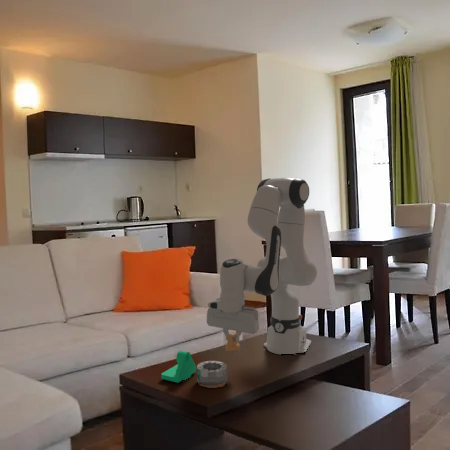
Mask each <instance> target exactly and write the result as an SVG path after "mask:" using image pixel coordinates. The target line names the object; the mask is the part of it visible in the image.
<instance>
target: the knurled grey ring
mask: <svg viewBox="0 0 450 450" xmlns="http://www.w3.org/2000/svg"><path fill="white" fill-rule="evenodd" d="M226 381H227V382H228V365H227V364H226V363H225V362H223V361H219V360H207V361H202V362H199V363H198V364H197V365H196V383H197V382H198V383H199V384H203V385H218V384H222V383H224V382H226Z"/></svg>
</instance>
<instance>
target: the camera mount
mask: <svg viewBox="0 0 450 450" xmlns="http://www.w3.org/2000/svg"><path fill="white" fill-rule="evenodd" d="M175 360H176V362H177V364H175V365H174V366H173V367H170V368H169V369H167V370H165V371H163V372H162V373H161V376H160V377H161V379H162V380H164V381H165V380H166V381H170V382H172V383H173V382H174V383H177V384H179V383H180V382H183V381H182V380H185V381H187V380H189V379H190V378H192V375H193V374H194V373H197V365H196V363H195V361H194V360H193V357H192V355H191V352H189V351H185V350H179V351H178V352H177V354H176V358H175ZM188 378H189V379H188ZM186 379H187V380H186Z"/></svg>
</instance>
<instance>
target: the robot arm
mask: <svg viewBox="0 0 450 450" xmlns="http://www.w3.org/2000/svg"><path fill="white" fill-rule="evenodd" d="M309 197H310V186H309V184H308V183H307V181H306V180H304V179H302V178H299V177H298V178H297V177H296V178H294V177H275V178H265V179H262V180H261V181H260V182H259V183H258V185H257V188H256V192H255V195H254V197H253V200H252V201H251V205H250V207H249V210H248V211H249V212H248V216H247V225H248V227H249V229H250V230H251V232H253V233H254V234H255V235H257V236H258V237H260V238H261V239H262V240H263V241H265V244H266V247H265V248H266V249H265V250H266V252H265V256H263V257H261V258H260V259H259V261H258V262H257V265H252V264H246V263H244V262H243V260H242V259H238V258H231V259H226V260H224V261H223V262H222V263H221V265H220V272H219V287H220V294H219V297H217V298H215V299H213V300H210V301H209V302H208V303H207V307H208V309H207V312H206V324H207V325H208V326H209V327H214V328H218V329H219V328H220V329H222V332H223V333H224V335H225V340H226V341H227V335H229V334H230V331H233V332H236V334H237V333H238V334H237V336H235V337H234V342H238V343H239V342H240V337H241V335H242V334H243V333H247V334H250V335H251V334H253V335H254V334H256V333H257V332H259V330H260V323H259V312H258V310H257V309H256V308H255V307H252V306H247V305H246V306H245V293H244V292H249V293H254V294H257V295H261V296H264V297H268V296H270V298H271V315H270V326H268V327H267V334H266V342H264V343H263V347H265V348H266V349H267V351H268V352H270V353H273V354H276V355H281V354H294V353H300V352H306V351H307V352H308V350H309V349H310V347H311V344H312V340H311V339H308V338H307V331H306V329H305V328H304V327H303V326H302V324H301V320H302V319H303V315H302V314H300V313H299V312H300V301H299V297H298V296H297V295H296V294H295V293H294V292H293V291H291V289H290V287H289V286H288V285H290V286H297V287H305V286H306V287H307V286H311V285H312V284H313V283H314V282H315V281H316V278H317V275H318V271H317V270H318V269H317V267H316V265H315V263H314V262H313V261H312V260H311V259H310V258H309V256H308V254H307V252H306V251H305V246H304V233H305V222H306V221H305V217H306V216H305V215H306V214H305V213H306V212H305V204H306V203H307V201H308V199H309ZM281 249H283V250H284V251H285V253H286V256H281ZM229 330H230V331H229ZM309 346H310V347H309ZM307 349H308V350H307ZM307 352H306V353H307ZM294 355H295V354H294Z"/></svg>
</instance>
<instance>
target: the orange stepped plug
mask: <svg viewBox="0 0 450 450" xmlns="http://www.w3.org/2000/svg"><path fill="white" fill-rule="evenodd" d="M237 334H238V333H237ZM237 334H236V331H232V332H231V333H229V335H227V340H226V341H227V342H226V343H225V351H226V352H227V353H238V352H240V350H241V349H240V347H241V345H240V343H239V342H234V337H235V336H237Z"/></svg>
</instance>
